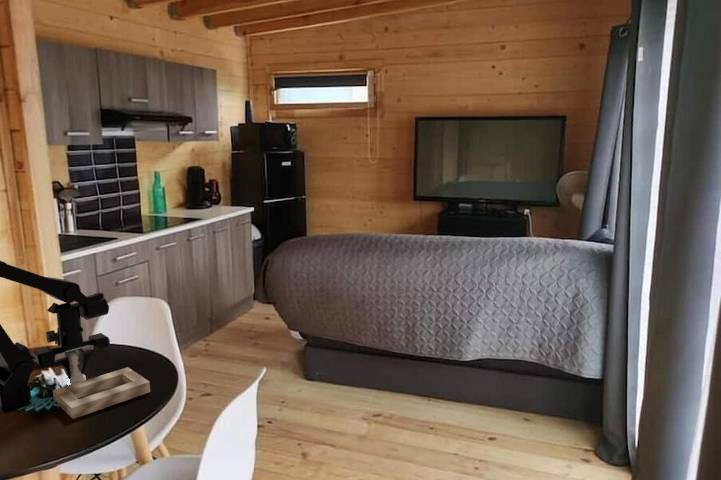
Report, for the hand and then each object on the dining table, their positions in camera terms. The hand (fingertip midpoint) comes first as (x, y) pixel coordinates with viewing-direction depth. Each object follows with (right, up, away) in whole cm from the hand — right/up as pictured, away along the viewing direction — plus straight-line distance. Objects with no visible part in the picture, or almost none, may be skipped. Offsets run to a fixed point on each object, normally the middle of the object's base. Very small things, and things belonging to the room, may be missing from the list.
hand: (75, 376), depth 156 cm
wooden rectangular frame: (+11, -3, -8) cm, 14 cm away
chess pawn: (0, -2, 0) cm, 2 cm away
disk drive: (-13, +1, +18) cm, 23 cm away
